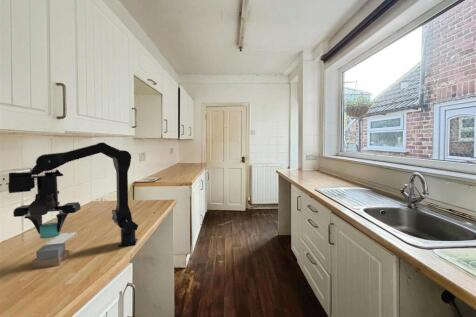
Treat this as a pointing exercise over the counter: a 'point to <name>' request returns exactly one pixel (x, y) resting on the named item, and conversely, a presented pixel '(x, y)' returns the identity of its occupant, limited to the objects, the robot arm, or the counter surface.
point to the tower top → (50, 251)
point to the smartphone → (62, 238)
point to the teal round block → (48, 230)
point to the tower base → (50, 261)
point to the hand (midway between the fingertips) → (49, 232)
